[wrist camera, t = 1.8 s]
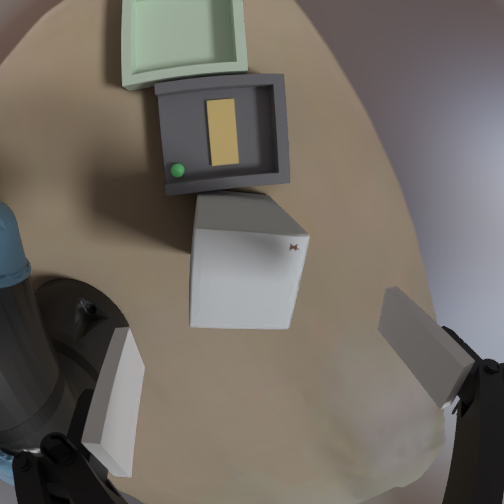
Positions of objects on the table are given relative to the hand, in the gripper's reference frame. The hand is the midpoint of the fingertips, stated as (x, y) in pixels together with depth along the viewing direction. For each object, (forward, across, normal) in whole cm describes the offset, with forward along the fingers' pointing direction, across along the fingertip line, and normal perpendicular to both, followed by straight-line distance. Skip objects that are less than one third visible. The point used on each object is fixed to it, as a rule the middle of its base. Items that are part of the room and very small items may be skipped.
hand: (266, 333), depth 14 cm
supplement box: (+18, 0, 0) cm, 18 cm away
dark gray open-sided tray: (+18, 0, +10) cm, 20 cm away
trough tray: (+18, -3, +20) cm, 27 cm away
